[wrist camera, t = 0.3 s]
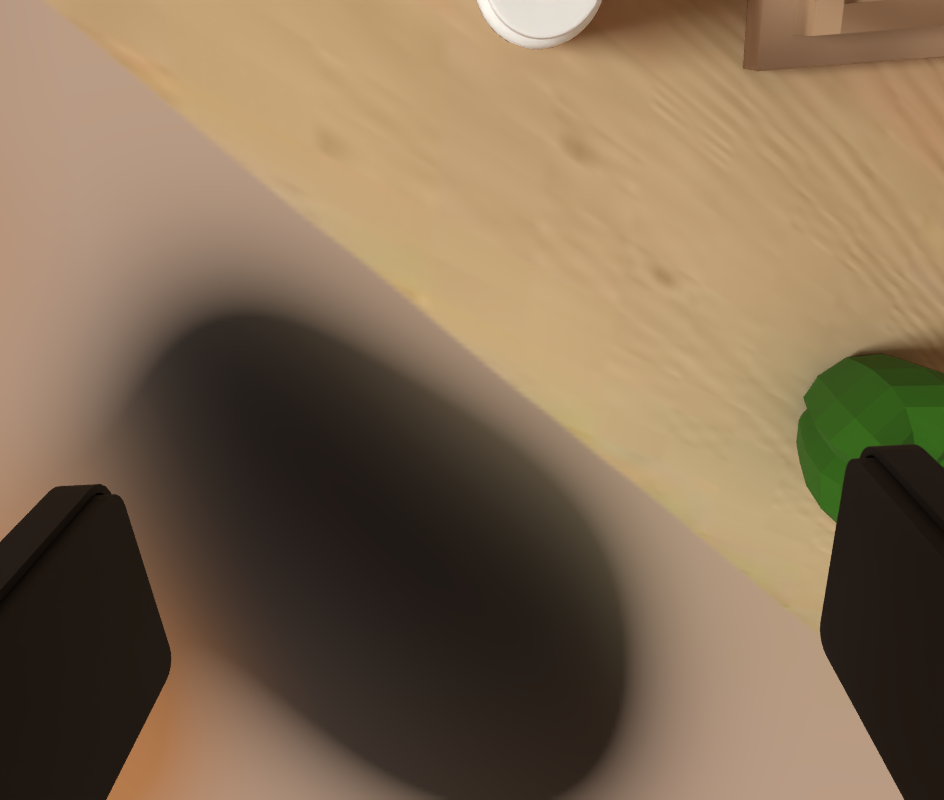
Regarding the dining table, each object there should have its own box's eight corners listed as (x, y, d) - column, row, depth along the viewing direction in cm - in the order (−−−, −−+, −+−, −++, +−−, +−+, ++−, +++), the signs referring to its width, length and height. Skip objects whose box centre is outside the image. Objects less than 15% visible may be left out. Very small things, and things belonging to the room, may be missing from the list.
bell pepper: (737, 421, 41) (807, 532, 32) (854, 301, 38) (967, 388, 29) (847, 497, 43) (941, 622, 34) (966, 390, 40) (1104, 497, 31)
